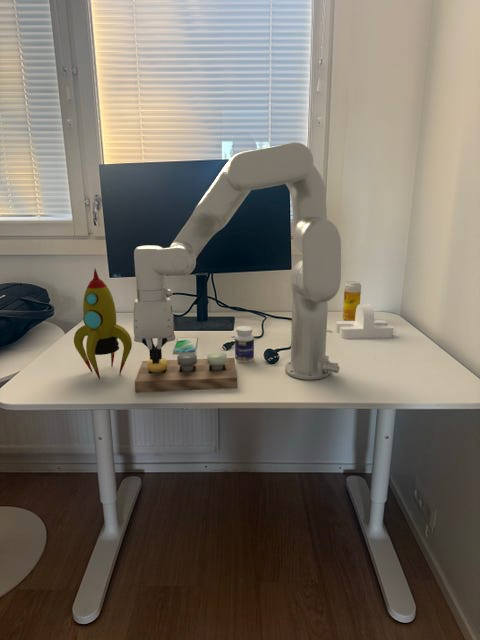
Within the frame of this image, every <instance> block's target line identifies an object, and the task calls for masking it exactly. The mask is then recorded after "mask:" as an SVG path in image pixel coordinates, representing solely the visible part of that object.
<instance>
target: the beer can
mask: <svg viewBox="0 0 480 640" xmlns="http://www.w3.org/2000/svg"><path fill="white" fill-rule="evenodd" d="M361 284H362V283H361V282H360V281H356V280H350V281H349V280H348V281H346V282H345V284H344V290H343V293H344V294H343V305H342V306H343V308H342V319H343V321H355V314H356V308H357V306H358V305H361V293H362V292H361V291H362V285H361Z"/></svg>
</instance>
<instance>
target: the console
mask: <svg viewBox="0 0 480 640" xmlns="http://www.w3.org/2000/svg"><path fill="white" fill-rule="evenodd" d="M166 360H167V369H165V370H163V372H164V373H152V371H149V370H148V367H147V362H148V361H149V360H142V362H141V365H140V367H139V369H138V372H137V374H136V376H135V380H134V388H135V393H152V392H153V393H155V392H176V391H177V392H178V391H203V390H230V389H238V373H237V367H236V366H237V365H236V359H235V357H227V362H226V363H225V364H223V371H212V365H211V364H208V362H207V358H197V363H196V364H195V365H193V372H182V366H180V365H178V362H177V359H166Z"/></svg>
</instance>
